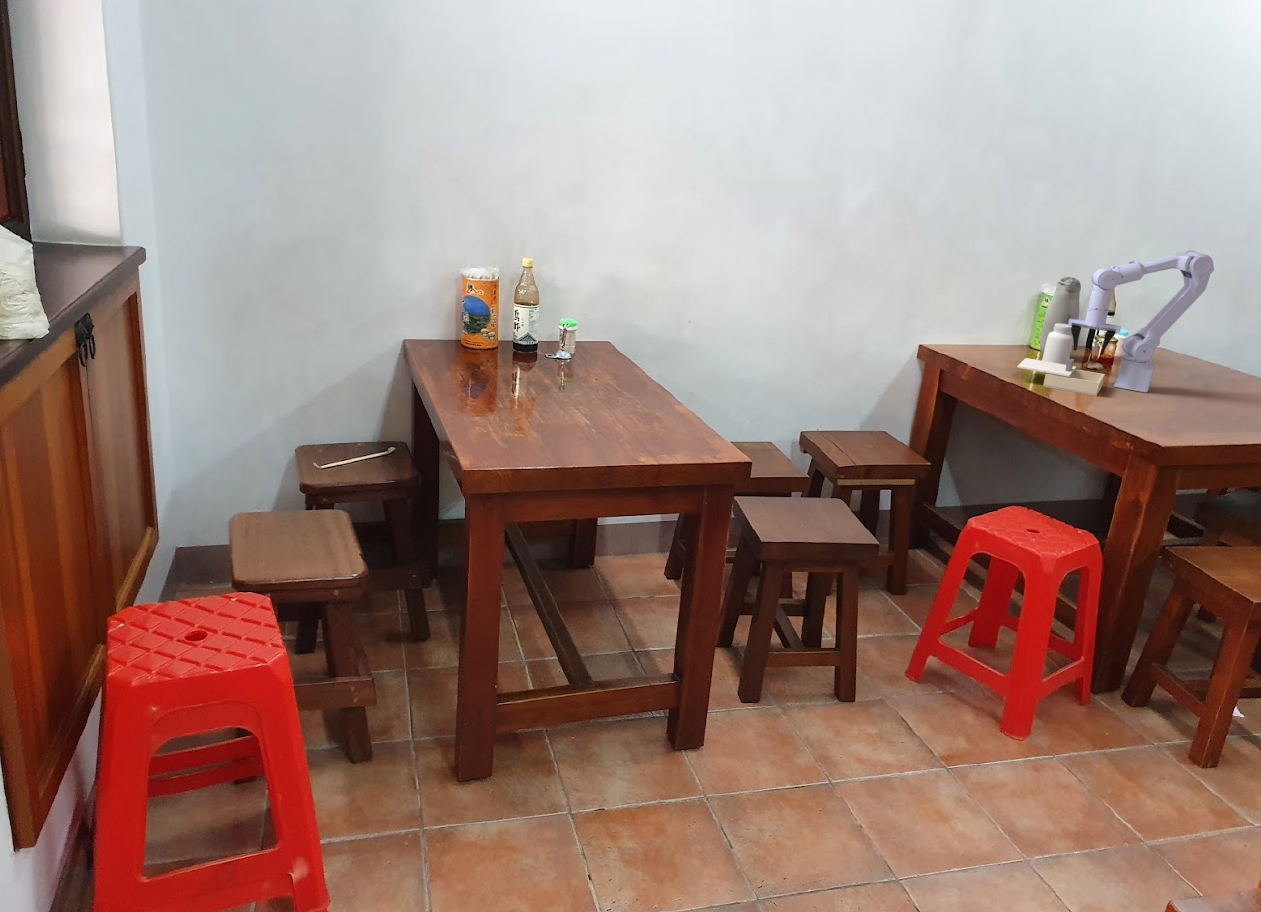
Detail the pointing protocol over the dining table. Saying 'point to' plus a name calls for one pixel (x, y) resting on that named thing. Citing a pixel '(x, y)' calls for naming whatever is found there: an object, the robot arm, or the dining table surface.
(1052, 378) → the beige open box
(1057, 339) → the pill bottle
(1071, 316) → the gray tapered bottle
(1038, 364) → the lid
